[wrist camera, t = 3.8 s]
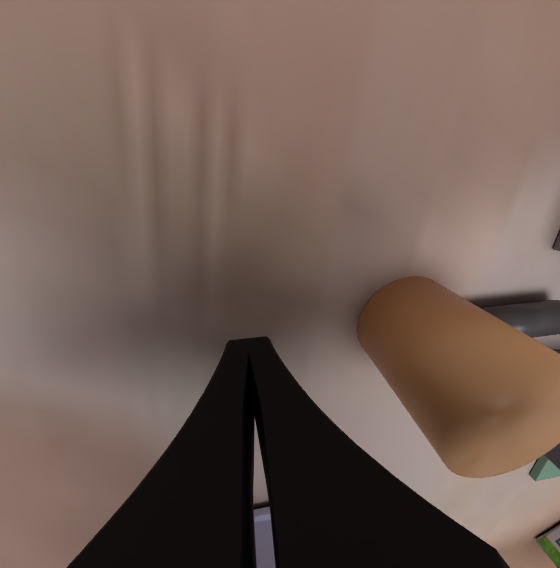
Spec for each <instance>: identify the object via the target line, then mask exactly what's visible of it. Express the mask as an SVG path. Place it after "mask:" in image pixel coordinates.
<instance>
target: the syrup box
mask: <svg viewBox="0 0 560 568" xmlns="http://www.w3.org/2000/svg"><path fill="white" fill-rule="evenodd" d="M537 543H538V544H539V545H540V547H541V548H542V549H543V550H544V552H545V553H546V554H547V555H548V556H549V558H550V559H551V560H552V561H553V563H554V564H555V565H556V566H557V568H560V524H559V525H558V526H556V527H555V528H553V529H551V530H550V531H548V532H547V533H545V534H543V535H541V536H540V537H538V538H537Z"/></svg>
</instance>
